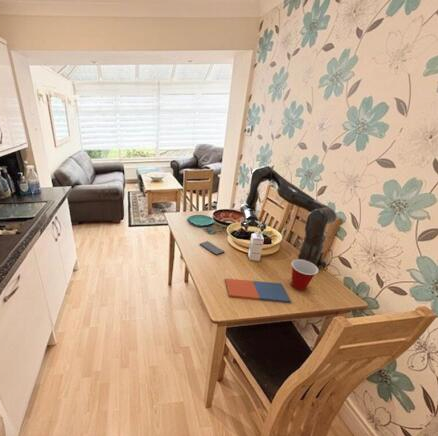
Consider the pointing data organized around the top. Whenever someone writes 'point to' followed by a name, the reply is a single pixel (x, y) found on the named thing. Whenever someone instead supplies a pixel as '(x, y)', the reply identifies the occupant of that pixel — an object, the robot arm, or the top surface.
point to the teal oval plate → (203, 222)
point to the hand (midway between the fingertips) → (254, 229)
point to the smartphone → (212, 248)
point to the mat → (257, 290)
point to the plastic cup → (302, 273)
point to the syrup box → (255, 247)
